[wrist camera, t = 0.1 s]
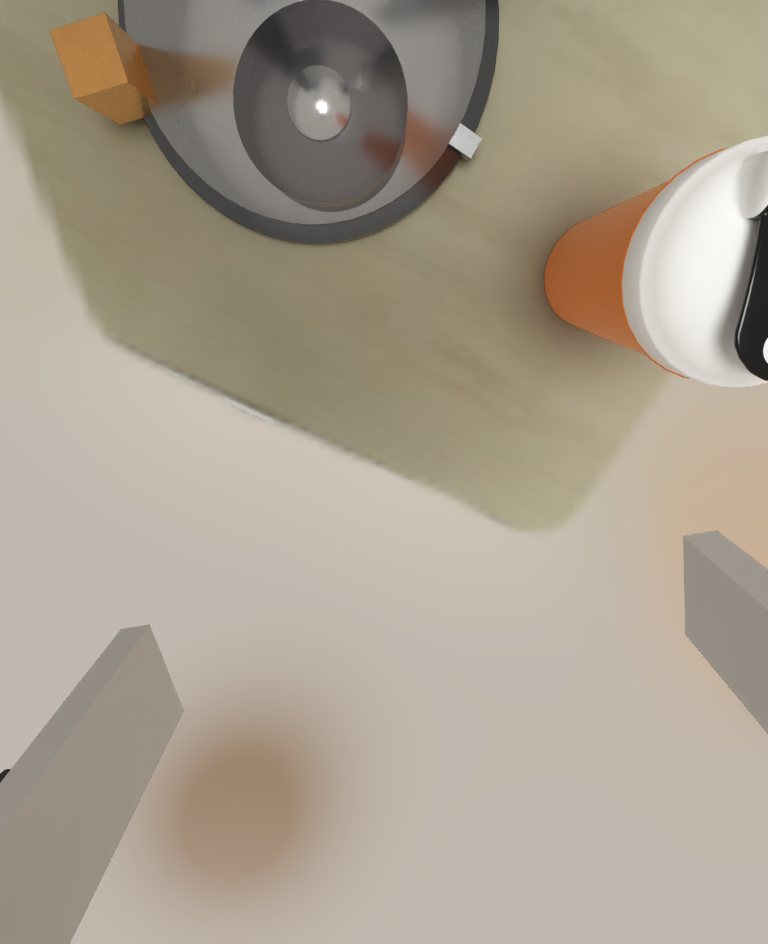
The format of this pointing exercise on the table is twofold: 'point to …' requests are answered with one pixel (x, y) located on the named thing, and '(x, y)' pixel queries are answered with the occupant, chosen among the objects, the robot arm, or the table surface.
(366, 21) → the cover
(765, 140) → the shaker bottle
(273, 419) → the table surface
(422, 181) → the turntable base
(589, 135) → the table surface
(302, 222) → the platter
